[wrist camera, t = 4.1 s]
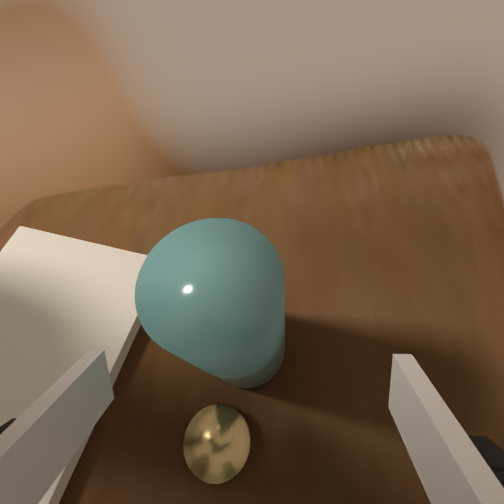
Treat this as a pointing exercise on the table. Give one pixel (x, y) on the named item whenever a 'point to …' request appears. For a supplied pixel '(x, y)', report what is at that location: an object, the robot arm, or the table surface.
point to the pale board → (61, 318)
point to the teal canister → (216, 300)
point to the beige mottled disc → (217, 443)
